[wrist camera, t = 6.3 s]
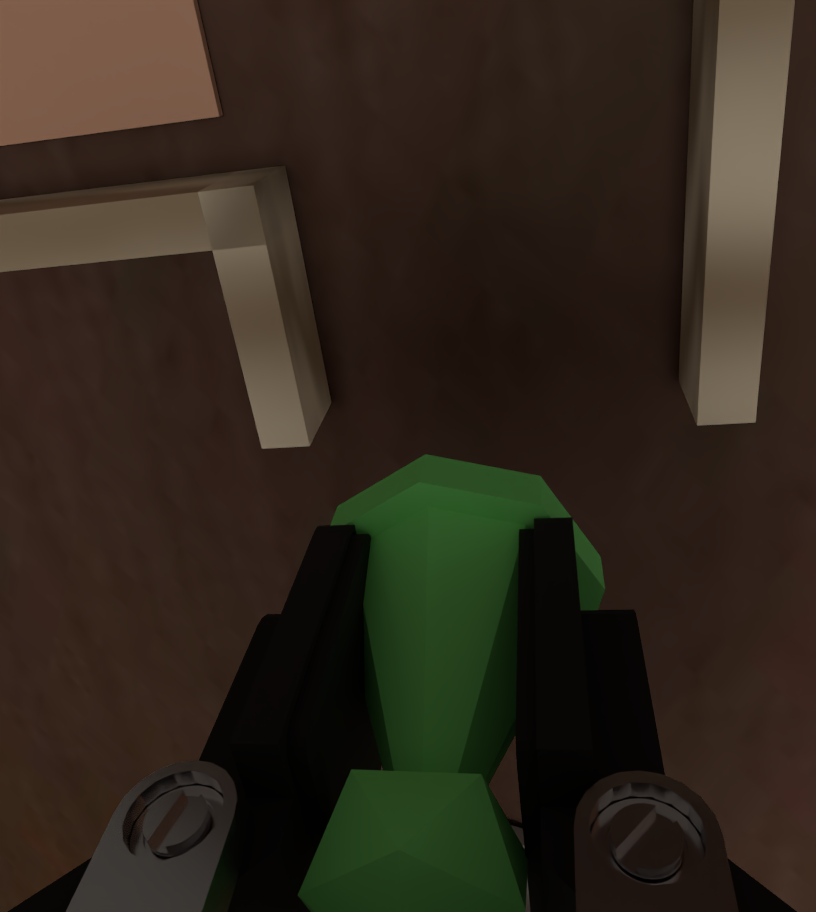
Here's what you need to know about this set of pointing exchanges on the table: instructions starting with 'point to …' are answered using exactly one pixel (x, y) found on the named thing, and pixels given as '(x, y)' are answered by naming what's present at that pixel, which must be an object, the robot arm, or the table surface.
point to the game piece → (438, 692)
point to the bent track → (271, 209)
